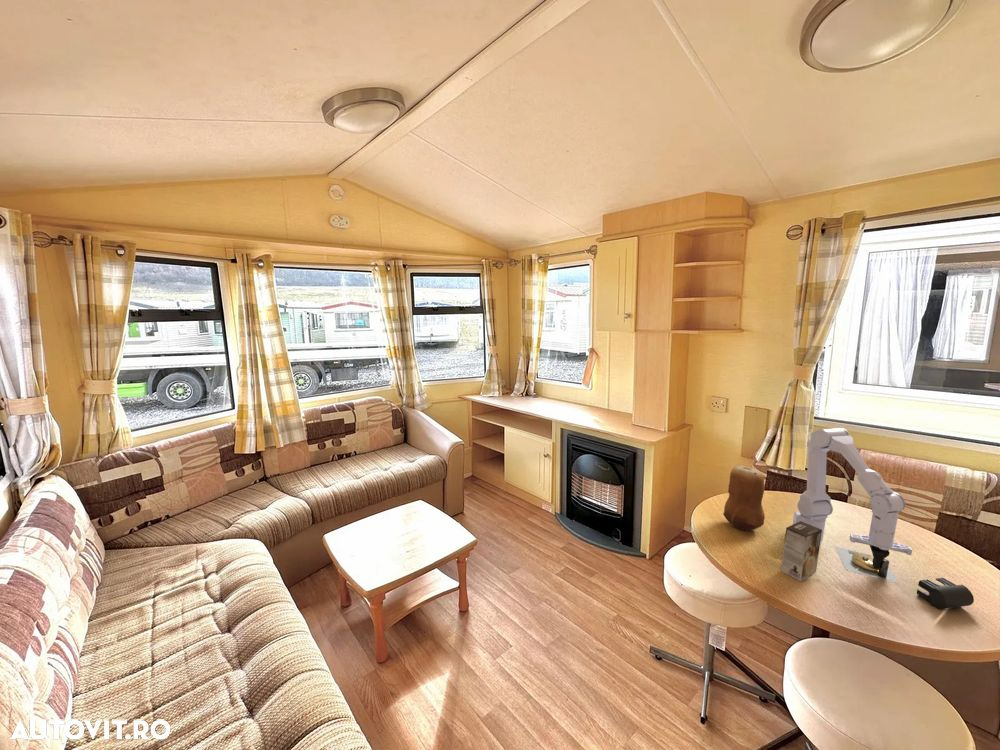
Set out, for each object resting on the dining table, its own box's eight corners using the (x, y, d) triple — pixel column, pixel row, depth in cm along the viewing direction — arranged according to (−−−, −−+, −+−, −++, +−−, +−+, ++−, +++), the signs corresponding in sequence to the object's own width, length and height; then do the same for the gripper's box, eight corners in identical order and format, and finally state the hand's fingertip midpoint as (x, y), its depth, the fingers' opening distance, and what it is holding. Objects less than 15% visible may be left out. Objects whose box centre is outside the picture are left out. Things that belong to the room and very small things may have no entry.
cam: (845, 557, 138) (847, 542, 137) (869, 557, 138) (871, 543, 137) (872, 577, 128) (875, 562, 127) (897, 578, 128) (900, 562, 127)
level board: (844, 572, 132) (845, 569, 132) (834, 548, 145) (835, 545, 145) (897, 586, 126) (898, 582, 126) (882, 559, 139) (883, 556, 138)
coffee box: (795, 562, 137) (800, 520, 134) (816, 573, 132) (823, 529, 129) (779, 571, 133) (785, 527, 130) (801, 582, 127) (808, 536, 125)
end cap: (942, 616, 114) (947, 595, 113) (914, 598, 121) (918, 578, 119) (971, 612, 115) (976, 591, 114) (941, 595, 122) (946, 575, 121)
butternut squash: (751, 519, 165) (757, 462, 161) (769, 537, 152) (777, 476, 148) (716, 517, 166) (722, 461, 162) (732, 536, 153) (738, 475, 149)
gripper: (856, 528, 127) (850, 567, 130) (918, 541, 120) (911, 582, 122) (850, 518, 133) (844, 555, 136) (910, 530, 126) (902, 569, 128)
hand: (875, 567), depth 129 cm, fingers closed
